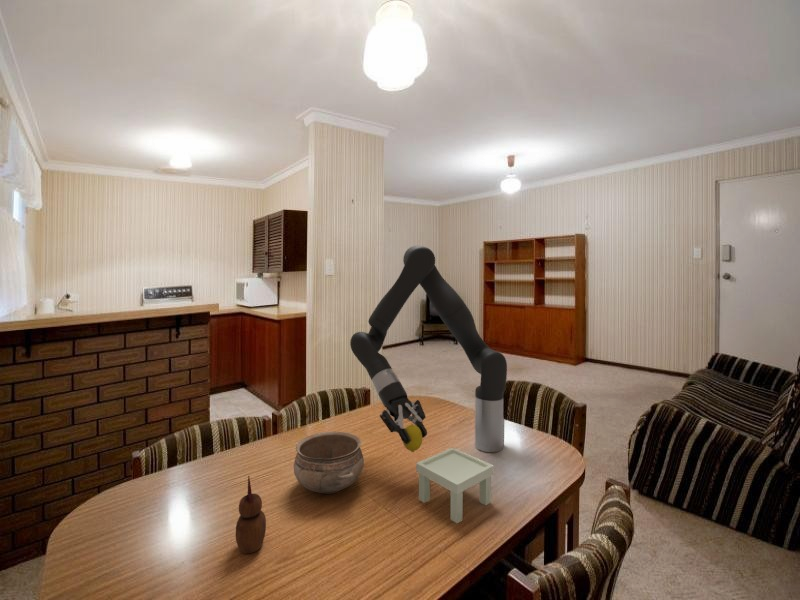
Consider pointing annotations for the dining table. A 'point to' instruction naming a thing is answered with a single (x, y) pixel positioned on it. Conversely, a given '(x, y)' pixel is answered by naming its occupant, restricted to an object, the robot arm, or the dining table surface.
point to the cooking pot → (328, 461)
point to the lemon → (413, 438)
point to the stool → (455, 477)
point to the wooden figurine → (250, 523)
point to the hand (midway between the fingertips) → (416, 439)
